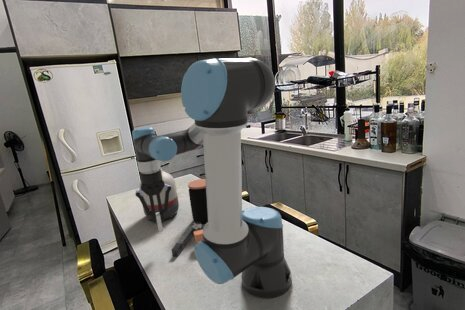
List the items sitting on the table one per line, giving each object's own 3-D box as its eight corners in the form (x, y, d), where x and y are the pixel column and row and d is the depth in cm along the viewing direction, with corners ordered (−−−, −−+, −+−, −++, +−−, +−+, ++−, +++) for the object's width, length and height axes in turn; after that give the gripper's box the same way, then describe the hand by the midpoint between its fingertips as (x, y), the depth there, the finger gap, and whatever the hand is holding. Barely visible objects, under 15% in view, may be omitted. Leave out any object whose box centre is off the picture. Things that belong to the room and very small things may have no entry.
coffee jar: (212, 225, 123) (207, 187, 119) (189, 225, 125) (184, 187, 121) (218, 214, 133) (214, 178, 129) (197, 214, 135) (192, 179, 131)
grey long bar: (184, 256, 102) (183, 249, 101) (172, 255, 103) (171, 248, 102) (203, 228, 121) (202, 221, 120) (193, 228, 122) (192, 221, 121)
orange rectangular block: (210, 238, 106) (209, 231, 106) (195, 242, 105) (194, 235, 104) (209, 234, 109) (208, 228, 108) (194, 238, 108) (193, 231, 107)
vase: (154, 227, 127) (145, 178, 121) (139, 216, 139) (130, 171, 133) (186, 213, 137) (179, 167, 131) (169, 204, 150) (162, 162, 144)
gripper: (167, 164, 105) (176, 221, 112) (131, 170, 102) (142, 228, 108) (169, 170, 98) (178, 230, 105) (130, 177, 95) (142, 238, 101)
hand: (160, 229), depth 106 cm, fingers closed
